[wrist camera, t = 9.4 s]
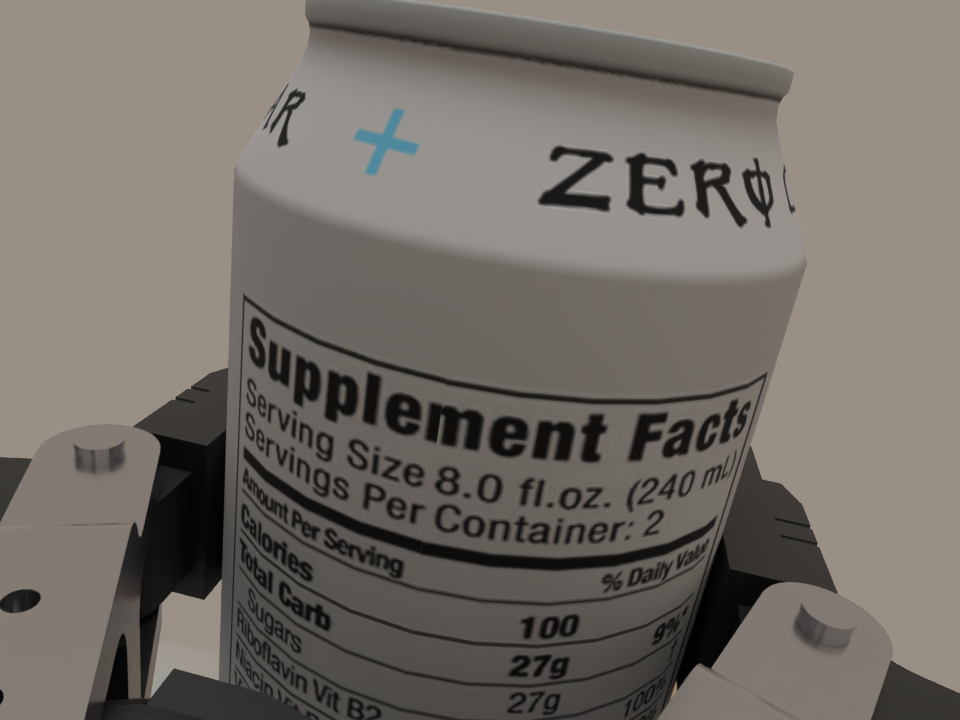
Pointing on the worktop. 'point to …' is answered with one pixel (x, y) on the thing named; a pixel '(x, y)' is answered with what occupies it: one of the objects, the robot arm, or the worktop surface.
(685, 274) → the energy drink can
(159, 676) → the worktop surface
